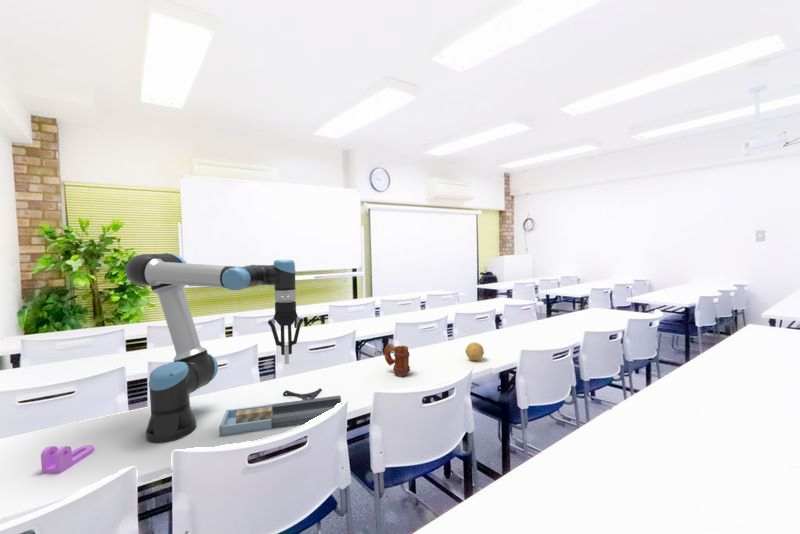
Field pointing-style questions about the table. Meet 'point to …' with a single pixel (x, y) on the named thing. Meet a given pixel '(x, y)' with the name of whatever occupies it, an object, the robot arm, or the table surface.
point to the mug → (398, 359)
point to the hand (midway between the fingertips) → (286, 362)
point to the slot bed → (301, 411)
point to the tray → (230, 426)
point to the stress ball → (474, 351)
